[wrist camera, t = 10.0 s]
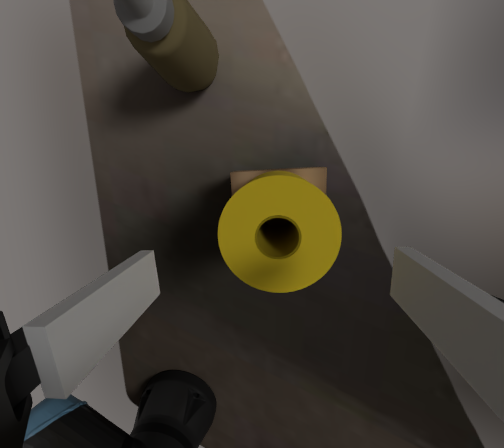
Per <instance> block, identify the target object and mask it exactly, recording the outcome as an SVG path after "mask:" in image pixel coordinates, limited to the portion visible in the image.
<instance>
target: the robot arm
mask: <svg viewBox="0 0 504 448" xmlns="http://www.w3.org/2000/svg"><path fill="white" fill-rule="evenodd" d="M159 294H160V289H159V282H158V276H157V269H156V263H155V257H154V250H144V251H139V252H138V253H136V254H135V255H133V256H132V257H130V258H128V259H127V260H125V261H124V262H122V263H121V264H119V265H117V266H116V267H114V268H113V269H111V270H110V271H108V272H107V273H105V274H103V275H102V276H100V277H99V278H97V279H96V280H94V281H92V282H91V283H89V284H88V285H86V286H85V287H83V288H81V289H80V290H78V291H77V292H75V293H74V294H72V295H71V296H69V297H67V298H66V299H65V300H63V301H61V302H60V303H58V304H56V305H55V306H53V307H52V308H50V309H49V310H47V311H46V312H44V313H42V314H41V315H40V316H38V317H36V318H34V319H33V320H31V321H30V322H28V323H27V324H25V325H24V326H22V327H21V328H20V329H18V330H16V331H15V332H13V333H12V334H10V332H9V329H8V326H7V323H6V321H5V317H4V315H3V312H2V311H0V448H198V447H199V445H200V444H201V442H202V440H203V438H204V437H205V435H206V433H207V432H208V430H209V428H210V427H211V425H212V422H213V419H214V415H215V411H216V399H215V396H214V393H213V391H212V390H211V388H210V387H209V386H208V385H207V384H206V383H205V382H204V381H203V380H201V379H200V378H198V377H197V376H195V375H193V374H190V373H187V372H184V371H177V370H171V371H165V372H161V373H159V374H157V375H155V376H154V377H153V378H152V379H151V380H150V381H149V383H148V385H147V386H146V388H145V390H144V391H143V394H142V396H141V399H140V404H139V408H138V412H137V416H136V420H135V424H134V428H133V430H132V432H131V434H130V435H129V434H127V433H126V432H125V431H123V430H122V429H120V428H119V427H117V426H116V425H115V424H113V423H112V422H110V421H109V420H108V419H106V418H105V417H104V416H102V415H101V414H100V413H98V412H97V411H96V410H94V409H93V408H92V407H90V406H89V405H88V404H87V402H86V401H81V400H79V399H77V398H76V397H74V396H72V395H71V393H72V392H73V391H74V390H75V389H76V388H77V386H78V385H79V384H80V383H81V382H82V381H83V380H84V379H85V377H86V376H87V375H88V374H89V373H90V372H91V371H92V370H93V368H94V367H95V366H96V365H97V364H98V363H99V362H100V361H101V359H102V358H103V357H104V356H105V355H106V354H107V353H108V352H109V350H110V349H111V348H112V347H113V346H114V345H115V344H116V343H117V342H118V340H119V339H120V338H121V337H122V336H123V335H124V334H125V333H126V331H127V330H128V329H129V328H130V327H131V326H132V325H133V324H134V322H135V321H136V320H137V319H138V318H139V317H140V316H141V315H142V314H143V312H144V311H145V310H146V309H147V308H148V307H149V306H150V305H151V303H152V302H153V301H154V300H155V299H156V298H157V297H158V296H159ZM390 295H391V297H392V298H393V299H394V300H395V301H396V302H397V303H398V304H399V306H400V307H401V308H402V309H403V310H404V311H405V312H406V313H407V315H408V316H409V317H410V318H411V319H412V320H413V321H414V323H415V324H416V325H417V326H418V327H419V328H420V329H421V330H422V332H423V333H424V334H425V335H426V336H427V337H428V338H429V339H430V341H431V342H432V343H433V344H434V345H435V346H436V347H437V348H438V350H439V351H440V352H441V353H442V354H443V355H444V356H445V357H446V358H447V360H448V361H449V362H450V363H451V364H452V365H453V366H454V368H455V369H456V370H457V371H458V372H459V373H460V374H461V375H462V377H463V378H464V379H465V380H466V381H467V382H468V383H469V385H470V386H471V387H472V388H473V389H474V390H475V391H476V392H477V394H478V395H479V396H480V397H481V398H482V399H483V400H484V402H485V403H486V404H487V405H488V406H489V407H490V408H491V409H492V410H493V412H494V413H495V414H496V415H497V416H498V417H499V418H500V420H501V421H502V422H503V423H504V300H502V299H500V298H497V297H495V296H492V295H490V294H488V293H486V292H485V291H483V290H481V289H480V288H478V287H476V286H475V285H473V284H471V283H470V282H468V281H466V280H465V279H463V278H461V277H460V276H458V275H456V274H455V273H453V272H451V271H450V270H448V269H447V268H445V267H443V266H442V265H440V264H438V263H437V262H435V261H433V260H432V259H430V258H428V257H426V256H425V255H423V254H422V253H420V252H418V251H417V250H415V249H413V248H412V247H395V252H394V261H393V271H392V281H391V291H390ZM39 384H41V387H42V390H43V392H44V396H45V398H46V399H44V400H43V401H41V402H40V403H39V404H37V405H36V406H35V407H34V408H32V409H31V407H32V397H31V394H30V393H31V392H32V391H33V390H34V389H35V388H36V387H37V386H38V385H39Z"/></svg>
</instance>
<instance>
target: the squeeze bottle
mask: <svg viewBox="0 0 504 448" xmlns="http://www.w3.org/2000/svg"><path fill="white" fill-rule="evenodd" d="M114 6H115V10H116V13H117V16H118V17H119V19H120V21H121V22H122V24H123V25H124V28H125V32H126V36H127V37H128V39H129V41H130V42H131V44H132V45H133V47H134V48H135V49H136V50H137V51H138V53H139V54H140V55H141V56H142V57H143V58H144V59H145V60H146V61H147V62H148V63H149V64H150V65H151V66H152V67H153V68H154V69H155V70H156V71H157V73H158V74H159V75H160V76H161V77H162V78H163V79H164V80H165V81H166V82H167V83H168V84H170V85H171V86H172V87H174V88H175V89H177V90H180V91H184V92H194V91H198V90H203V89H205V88H207V87H208V86H209V85H210V84H211V83H212V82H213V80H214V78H215V76H216V71H217V65H218V58H219V54H218V49H217V43H216V40H215V39H214V37H213V35H212V34H211V32H210V30H209V29H208V27H207V26H206V25H205V23H204V22H203V21H202V19H201V18H200V17H199V15H198V14H197V13H196V11H195V10H194V9H193V7H192V6H191V5H190V3H189V2H188V1H187V0H114Z"/></svg>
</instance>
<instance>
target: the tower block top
mask: <svg viewBox="0 0 504 448" xmlns="http://www.w3.org/2000/svg"><path fill="white" fill-rule="evenodd" d="M270 171H287V172H291V173H294V174H296V175H298V176H300V177H302V178H303V179H305V180H306V181H308V182H310V183H311V184H313V185H314V186H316V187H317V188H319V189H320V190H321V191H322V192H323V193H324V194H325V195H326V176H327V167H306V168H286V169H267V170H247V171H234V172H230V176H231V189H232V196H233V195H234V194H235V193H236V192H237V191H238V190H239V189H241V188H242V187H243V186H244V185H246V184H247V183H248V182H250V181H251V180H252V179H254V178H255V177H257V176H259V175H261V174H263V173H266V172H270ZM266 222H267V223H268V224H269V225H271V226H274V227H281V226H283V225H285V224H287V223H288V222H289V220H287V219H284V218H272V219H270V220H267V221H266Z"/></svg>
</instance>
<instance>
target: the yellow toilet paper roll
mask: <svg viewBox="0 0 504 448" xmlns="http://www.w3.org/2000/svg"><path fill="white" fill-rule="evenodd" d="M272 218H284V219H287V220H289V222H288V223H287V224H285V225H283V226H281V227H274V226H271V225H269V224H268V223H267V222H266V221H267V220H270V219H272ZM218 243H219V247H220V251H221V254H222V256H223V258H224V260H225V262H226V264H227V265H228V267H229V268H230V269H231V271H232V272H233V273H234V274H235V275H236V276H237V277H238V278H240V279H241V280H242V281H244V282H245V283H247V284H248V285H250V286H252V287H255V288H257V289H260V290H263V291H268V292H276V293H283V292H292V291H296V290H300V289H302V288H305V287H307V286H309V285H311V284H313V283H314V282H316V281H317V280H319V279H320V278H321V277H322V276H323V275H324V274H325V273H326V272H327V271H328V270H329V269H330V267H331V266H332V265H333V263H334V261H335V259H336V257H337V255H338V252H339V249H340V244H341V224H340V219H339V216H338V213H337V211H336V209H335V207H334V205H333V204H332V202H331V201H330V199H329V198H328V197H327V196H326V195H325V194H324V193H323V192H322V191H321V190H320V189H319V188H317V187H316V186H314V185H313V184H311V183H310V182H308V181H306V180H305V179H303V178H302V177H300V176H298V175H296V174H294V173H291V172H287V171H270V172H266V173H263V174H261V175H259V176H257V177H255V178H254V179H252V180H251V181H250V182H248V183H247V184H246V185H244V186H243V187H242V188H241V189H239V190H238V191H237V192H236V193H235V194H234V195H233V196H232V197H231V198H230V200H229V201H228V202H227V204H226V206H225V207H224V209H223V211H222V214H221V217H220V220H219V225H218Z"/></svg>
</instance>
